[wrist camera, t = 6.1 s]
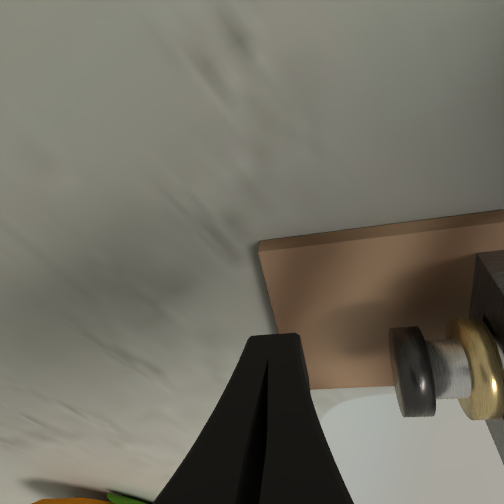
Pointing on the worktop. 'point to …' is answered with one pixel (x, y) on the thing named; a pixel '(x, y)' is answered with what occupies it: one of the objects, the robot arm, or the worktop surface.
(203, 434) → the robot arm
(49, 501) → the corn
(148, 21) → the worktop surface
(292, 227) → the worktop surface
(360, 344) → the base board
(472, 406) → the shaft
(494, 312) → the block
